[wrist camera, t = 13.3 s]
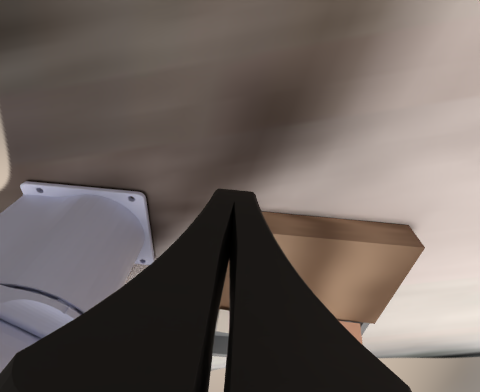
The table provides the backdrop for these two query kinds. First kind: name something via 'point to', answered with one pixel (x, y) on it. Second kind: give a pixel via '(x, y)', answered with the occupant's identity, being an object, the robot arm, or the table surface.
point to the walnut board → (345, 261)
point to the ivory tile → (222, 321)
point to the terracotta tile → (353, 329)
